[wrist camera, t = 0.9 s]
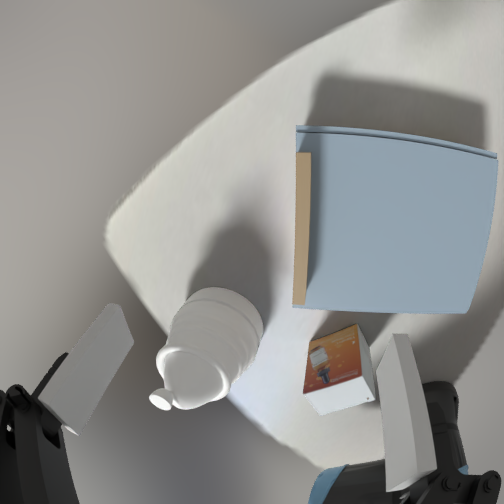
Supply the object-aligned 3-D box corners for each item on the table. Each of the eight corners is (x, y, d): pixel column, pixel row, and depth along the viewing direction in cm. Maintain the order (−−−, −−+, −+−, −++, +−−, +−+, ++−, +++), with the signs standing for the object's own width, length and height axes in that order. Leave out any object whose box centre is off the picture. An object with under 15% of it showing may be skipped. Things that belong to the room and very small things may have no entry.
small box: (357, 321, 37) (364, 374, 27) (370, 347, 38) (377, 400, 29) (307, 341, 40) (301, 394, 30) (322, 365, 41) (319, 417, 32)
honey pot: (169, 310, 44) (106, 386, 28) (223, 271, 39) (161, 357, 22) (221, 364, 46) (181, 448, 29) (280, 335, 41) (254, 436, 24)
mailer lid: (458, 301, 28) (476, 328, 23) (294, 295, 33) (289, 324, 28) (484, 151, 21) (514, 156, 16) (298, 127, 26) (292, 122, 21)
